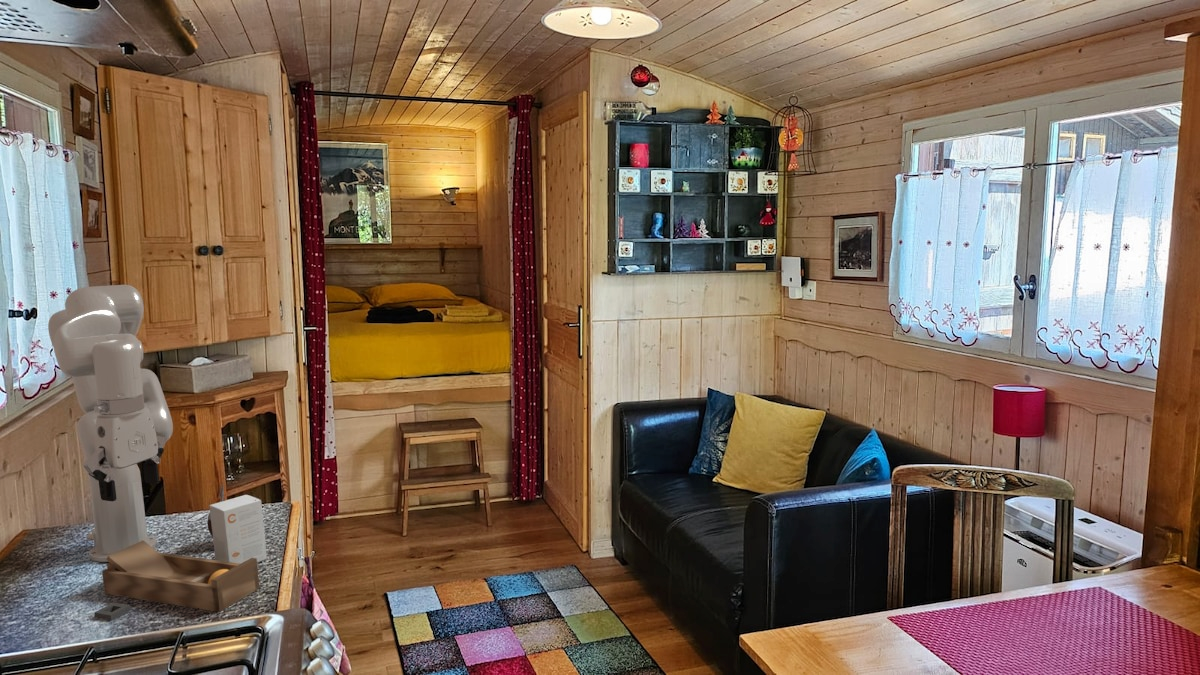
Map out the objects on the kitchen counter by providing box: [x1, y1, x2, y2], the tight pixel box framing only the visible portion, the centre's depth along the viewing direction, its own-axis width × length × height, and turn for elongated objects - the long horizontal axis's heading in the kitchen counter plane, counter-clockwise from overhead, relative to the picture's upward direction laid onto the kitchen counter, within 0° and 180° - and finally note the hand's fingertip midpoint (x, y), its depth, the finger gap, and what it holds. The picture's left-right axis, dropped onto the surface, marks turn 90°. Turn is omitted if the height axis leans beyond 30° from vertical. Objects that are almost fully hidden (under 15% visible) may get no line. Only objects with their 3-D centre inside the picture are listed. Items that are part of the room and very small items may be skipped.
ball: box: [208, 569, 228, 585], centre depth 153 cm, size 5×5×5 cm
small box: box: [209, 494, 268, 564], centre depth 169 cm, size 8×6×13 cm
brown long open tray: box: [101, 540, 260, 613], centre depth 157 cm, size 28×10×7 cm, turn 71°
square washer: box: [93, 602, 132, 621], centre depth 148 cm, size 4×4×1 cm
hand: (131, 491), depth 158 cm, fingers open, 9 cm apart
